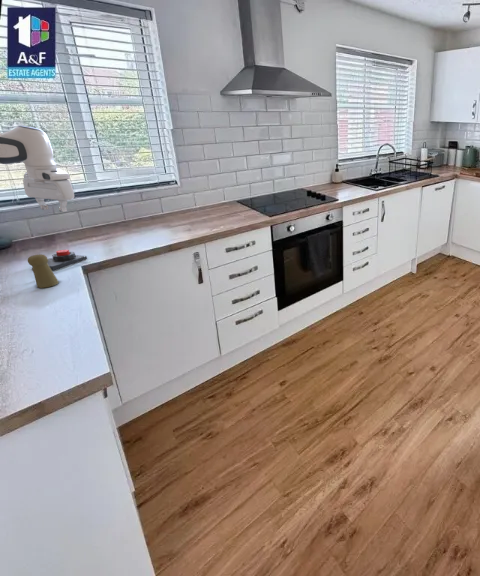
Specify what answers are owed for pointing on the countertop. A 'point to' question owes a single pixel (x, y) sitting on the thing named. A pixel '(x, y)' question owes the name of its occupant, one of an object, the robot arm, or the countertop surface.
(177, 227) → the countertop surface
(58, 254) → the power button
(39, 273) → the olive brown upright piece
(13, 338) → the countertop surface
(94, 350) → the countertop surface
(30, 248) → the countertop surface
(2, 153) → the robot arm
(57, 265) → the dark grey base
